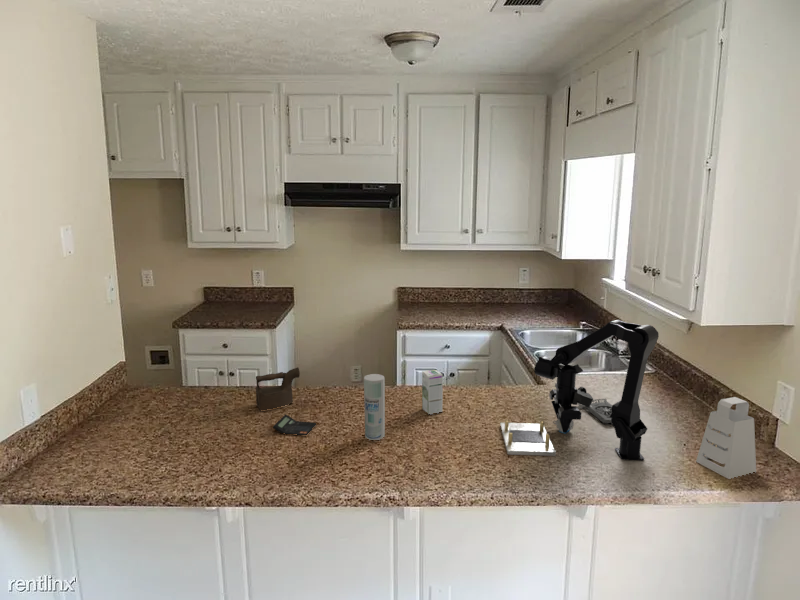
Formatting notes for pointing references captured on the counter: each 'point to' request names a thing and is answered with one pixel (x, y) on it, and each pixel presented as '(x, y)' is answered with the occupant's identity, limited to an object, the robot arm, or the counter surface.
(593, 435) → the counter surface
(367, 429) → the spray can
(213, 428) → the counter surface
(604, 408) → the graphics card
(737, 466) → the grater
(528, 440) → the chassis plate
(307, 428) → the calculator
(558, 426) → the electric motor
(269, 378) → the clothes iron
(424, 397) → the syrup box
